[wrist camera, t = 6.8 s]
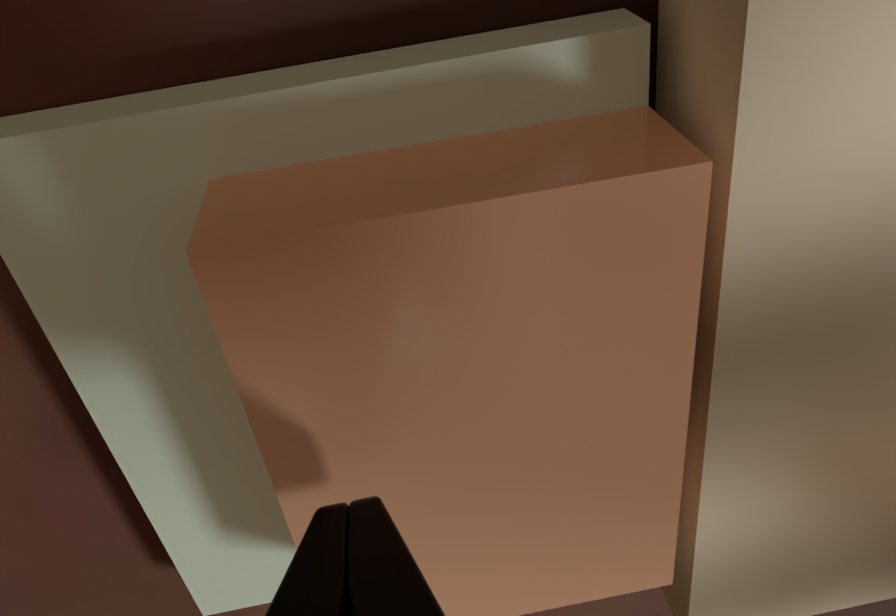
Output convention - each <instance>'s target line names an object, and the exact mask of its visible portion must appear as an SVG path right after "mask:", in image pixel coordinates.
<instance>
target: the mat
mask: <svg viewBox="0 0 896 616" xmlns="http://www.w3.org/2000/svg"><path fill="white" fill-rule="evenodd" d="M650 28H651V24H650V23H648V22H646V21H645V20H643V19H641V18H640V17H638V16H636V15H635V14H633V13H631V12H630V11H628V10H626V9H625V8H621V9H615V10H610V11H604V12H598V13H593V14H587V15H581V16H575V17H570V18H564V19H558V20H553V21H547V22H541V23H536V24H530V25H524V26H518V27H513V28H507V29H501V30H496V31H490V32H484V33H478V34H473V35H467V36H461V37H456V38H450V39H444V40H439V41H433V42H427V43H421V44H416V45H410V46H404V47H399V48H393V49H387V50H381V51H376V52H370V53H364V54H359V55H353V56H347V57H341V58H336V59H330V60H324V61H319V62H313V63H307V64H302V65H296V66H290V67H284V68H279V69H273V70H267V71H262V72H256V73H250V74H244V75H239V76H233V77H227V78H222V79H216V80H210V81H205V82H199V83H193V84H187V85H182V86H176V87H170V88H165V89H159V90H153V91H147V92H142V93H136V94H130V95H125V96H119V97H113V98H107V99H102V100H96V101H90V102H85V103H79V104H73V105H68V106H62V107H56V108H50V109H45V110H39V111H33V112H28V113H22V114H16V115H10V116H5V117H0V255H1V257H2V258H3V260H4V262H5V264H6V265H7V267H8V269H9V271H10V273H11V274H12V276H13V278H14V280H15V282H16V283H17V285H18V287H19V289H20V290H21V292H22V294H23V296H24V298H25V299H26V301H27V303H28V305H29V306H30V308H31V310H32V312H33V314H34V315H35V317H36V319H37V321H38V322H39V324H40V326H41V328H42V330H43V331H44V333H45V335H46V337H47V338H48V340H49V342H50V344H51V346H52V347H53V349H54V351H55V353H56V355H57V356H58V358H59V360H60V362H61V363H62V365H63V367H64V369H65V371H66V372H67V374H68V376H69V378H70V379H71V381H72V383H73V385H74V387H75V388H76V390H77V392H78V394H79V395H80V397H81V399H82V401H83V403H84V404H85V406H86V408H87V410H88V411H89V413H90V415H91V417H92V419H93V420H94V422H95V424H96V426H97V428H98V429H99V431H100V433H101V435H102V436H103V438H104V440H105V442H106V444H107V445H108V447H109V449H110V451H111V452H112V454H113V456H114V458H115V460H116V461H117V463H118V465H119V467H120V468H121V470H122V472H123V474H124V476H125V477H126V479H127V481H128V483H129V484H130V486H131V488H132V490H133V492H134V493H135V495H136V497H137V499H138V501H139V502H140V504H141V506H142V508H143V509H144V511H145V513H146V515H147V517H148V518H149V520H150V522H151V524H152V525H153V527H154V529H155V531H156V533H157V534H158V536H159V538H160V540H161V541H162V543H163V545H164V547H165V549H166V550H167V552H168V554H169V556H170V557H171V559H172V561H173V563H174V565H175V566H176V568H177V570H178V572H179V574H180V575H181V577H182V579H183V581H184V582H185V584H186V586H187V588H188V590H189V591H190V593H191V595H192V597H193V598H194V600H195V602H196V604H197V606H198V607H199V609H200V611H201V613H202V614H203V616H207V615H212V614H217V613H222V612H226V611H231V610H236V609H241V608H246V607H251V606H255V605H260V604H265V603H270V602H272V600H273V598H274V596H275V594H276V592H277V590H278V588H279V585H280V583H281V581H282V579H283V577H284V575H285V573H286V571H287V569H288V567H289V565H290V563H291V561H292V559H293V556H294V554H295V552H296V550H297V549H296V546H295V544H294V541H293V538H292V536H291V533H290V530H289V528H288V525H287V522H286V520H285V517H284V514H283V512H282V509H281V506H280V504H279V501H278V498H277V496H276V493H275V490H274V488H273V485H272V482H271V480H270V477H269V474H268V472H267V469H266V466H265V464H264V461H263V458H262V456H261V453H260V450H259V447H258V445H257V442H256V439H255V437H254V434H253V431H252V429H251V426H250V423H249V421H248V418H247V415H246V413H245V410H244V407H243V405H242V402H241V399H240V397H239V394H238V391H237V389H236V386H235V383H234V381H233V378H232V375H231V373H230V370H229V367H228V365H227V362H226V359H225V357H224V354H223V351H222V349H221V346H220V343H219V341H218V338H217V335H216V333H215V330H214V327H213V325H212V322H211V319H210V317H209V314H208V311H207V309H206V306H205V303H204V301H203V298H202V295H201V292H200V290H199V287H198V284H197V282H196V279H195V276H194V274H193V271H192V268H191V266H190V263H189V260H188V258H187V255H186V249H187V245H188V242H189V239H190V236H191V233H192V230H193V227H194V224H195V221H196V218H197V215H198V212H199V209H200V206H201V203H202V200H203V197H204V194H205V191H206V188H207V185H208V182H209V179H212V178H218V177H224V176H230V175H236V174H242V173H248V172H254V171H260V170H266V169H272V168H278V167H284V166H290V165H296V164H302V163H308V162H314V161H320V160H326V159H332V158H338V157H344V156H350V155H356V154H362V153H368V152H374V151H380V150H386V149H392V148H398V147H404V146H410V145H416V144H422V143H428V142H434V141H440V140H446V139H451V138H457V137H463V136H469V135H475V134H481V133H487V132H493V131H499V130H505V129H511V128H517V127H523V126H529V125H535V124H541V123H547V122H553V121H559V120H565V119H571V118H577V117H583V116H589V115H595V114H601V113H607V112H613V111H619V110H625V109H631V108H637V107H643V106H649V67H650Z"/></svg>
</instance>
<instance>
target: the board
mask: <svg viewBox="0 0 896 616" xmlns="http://www.w3.org/2000/svg"><path fill="white" fill-rule="evenodd" d="M655 112H656V113H657V114H659V115H660V116H661V117H662V118H663V119H664V120H666V121H667V122H668V123H669V124H670V125H671V126H673V127H674V128H675V129H676V130H677V131H678V132H680V133H681V134H682V135H683V136H684V137H685V138H687V139H688V140H689V141H690V142H691V143H692V144H694V145H695V146H696V147H697V148H698V149H699V150H701V151H702V152H703V153H704V154H705V155H706V156H708V157H709V158H710V159H711V160H712V161H713V168H712V179H711V189H710V199H709V210H708V220H707V231H706V241H705V251H704V262H703V272H702V283H701V293H700V303H699V314H698V324H697V335H696V345H695V355H694V366H693V376H692V387H691V397H690V408H689V418H688V428H687V439H686V449H685V460H684V470H683V480H682V491H681V501H680V512H679V522H678V532H677V543H676V553H675V564H674V574H673V584H672V585H667V586H662V587H661V588H662V590H663V592H664V595H665V597H666V599H667V601H668V604H669V606H670V608H671V610H672V613H673V615H674V616H812V615H817V614H821V613H826V612H831V611H835V610H840V609H844V608H849V607H854V606H858V605H863V604H868V603H872V602H877V601H882V600H886V599H891V598H896V0H659V6H658V38H657V70H656V102H655Z"/></svg>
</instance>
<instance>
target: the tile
mask: <svg viewBox="0 0 896 616" xmlns="http://www.w3.org/2000/svg"><path fill="white" fill-rule="evenodd" d="M712 168H713V161H712V160H711V159H710V158H709V157H708V156H706V155H705V154H704V153H703V152H702V151H701V150H699V149H698V148H697V147H696V146H695V145H694V144H692V143H691V142H690V141H689V140H688V139H687V138H685V137H684V136H683V135H682V134H681V133H680V132H678V131H677V130H676V129H675V128H674V127H673V126H671V125H670V124H669V123H668V122H667V121H666V120H664V119H663V118H662V117H661V116H660V115H659V114H657V113H656V112H655V111H654V110H653V109H652V108H650V107H649V106H643V107H637V108H631V109H625V110H619V111H613V112H607V113H601V114H595V115H589V116H583V117H577V118H571V119H565V120H559V121H553V122H547V123H541V124H535V125H529V126H523V127H517V128H511V129H505V130H499V131H493V132H487V133H481V134H475V135H469V136H463V137H457V138H451V139H446V140H440V141H434V142H428V143H422V144H416V145H410V146H404V147H398V148H392V149H386V150H380V151H374V152H368V153H362V154H356V155H350V156H344V157H338V158H332V159H326V160H320V161H314V162H308V163H302V164H296V165H290V166H284V167H278V168H272V169H266V170H260V171H254V172H248V173H242V174H236V175H230V176H224V177H218V178H212V179H209V182H208V185H207V188H206V191H205V194H204V197H203V200H202V203H201V206H200V209H199V212H198V215H197V218H196V221H195V224H194V227H193V230H192V233H191V236H190V239H189V242H188V245H187V249H186V255H187V258H188V260H189V263H190V266H191V268H192V271H193V274H194V276H195V279H196V282H197V284H198V287H199V290H200V292H201V295H202V298H203V301H204V303H205V306H206V309H207V311H208V314H209V317H210V319H211V322H212V325H213V327H214V330H215V333H216V335H217V338H218V341H219V343H220V346H221V349H222V351H223V354H224V357H225V359H226V362H227V365H228V367H229V370H230V373H231V375H232V378H233V381H234V383H235V386H236V389H237V391H238V394H239V397H240V399H241V402H242V405H243V407H244V410H245V413H246V415H247V418H248V421H249V423H250V426H251V429H252V431H253V434H254V437H255V439H256V442H257V445H258V447H259V450H260V453H261V456H262V458H263V461H264V464H265V466H266V469H267V472H268V474H269V477H270V480H271V482H272V485H273V488H274V490H275V493H276V496H277V498H278V501H279V504H280V506H281V509H282V512H283V514H284V517H285V520H286V522H287V525H288V528H289V530H290V533H291V536H292V538H293V541H294V544H295V546H296V549H297V548H298V546H299V544H300V542H301V540H302V538H303V536H304V534H305V532H306V530H307V528H308V525H309V523H310V521H311V519H312V517H313V515H314V513H315V511H316V510H317V509H318V508H320V507H323V506H327V505H332V504H337V503H342V502H343V503H347V504H348V505H350V503H351V502H352V501H353V500H357V499H362V498H367V497H372V496H378V497H379V498H381V500H382V502H383V503H384V505H385V507H386V509H387V511H388V512H389V514H390V516H391V518H392V520H393V521H394V523H395V525H396V527H397V529H398V531H399V532H400V534H401V536H402V538H403V540H404V541H405V543H406V545H407V547H408V549H409V550H410V552H411V554H412V556H413V558H414V560H415V561H416V563H417V565H418V567H419V569H420V570H421V572H422V574H423V576H424V578H425V579H426V581H427V583H428V585H429V587H430V589H431V590H432V592H433V594H434V596H435V598H436V599H437V601H438V603H439V605H440V607H441V608H442V610H443V612H444V614H445V616H518V615H523V614H528V613H533V612H538V611H543V610H548V609H553V608H558V607H563V606H568V605H573V604H578V603H583V602H588V601H593V600H598V599H603V598H607V597H612V596H617V595H622V594H627V593H632V592H637V591H642V590H647V589H652V588H657V587H662V586H667V585H672V584H673V574H674V564H675V553H676V543H677V532H678V522H679V512H680V501H681V491H682V480H683V470H684V460H685V449H686V439H687V428H688V418H689V408H690V397H691V387H692V376H693V366H694V355H695V345H696V335H697V324H698V314H699V303H700V293H701V283H702V272H703V262H704V251H705V241H706V231H707V220H708V210H709V199H710V189H711V179H712Z"/></svg>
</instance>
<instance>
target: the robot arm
mask: <svg viewBox="0 0 896 616" xmlns="http://www.w3.org/2000/svg"><path fill="white" fill-rule="evenodd" d="M265 616H445V614H444V612H443V610H442V608H441V607H440V605H439V603H438V601H437V599H436V598H435V596H434V594H433V592H432V590H431V589H430V587H429V585H428V583H427V581H426V579H425V578H424V576H423V574H422V572H421V570H420V569H419V567H418V565H417V563H416V561H415V560H414V558H413V556H412V554H411V552H410V550H409V549H408V547H407V545H406V543H405V541H404V540H403V538H402V536H401V534H400V532H399V531H398V529H397V527H396V525H395V523H394V521H393V520H392V518H391V516H390V514H389V512H388V511H387V509H386V507H385V505H384V503H383V502H382V500H381V498H379V497H378V496H372V497H367V498H362V499H357V500H353V501H352V502H351V503H350V505H348V504H347V503H343V502H342V503H337V504H332V505H327V506H323V507H320V508H318V509H317V510H316V511H315V513H314V515H313V517H312V519H311V521H310V523H309V525H308V528H307V530H306V532H305V534H304V536H303V538H302V540H301V542H300V544H299V546H298V548H297V550H296V552H295V554H294V556H293V559H292V561H291V563H290V565H289V567H288V569H287V571H286V573H285V575H284V577H283V579H282V581H281V583H280V585H279V588H278V590H277V592H276V594H275V596H274V598H273V600H272V602H271V604H270V606H269V608H268V610H267V612H266V614H265Z"/></svg>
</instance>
